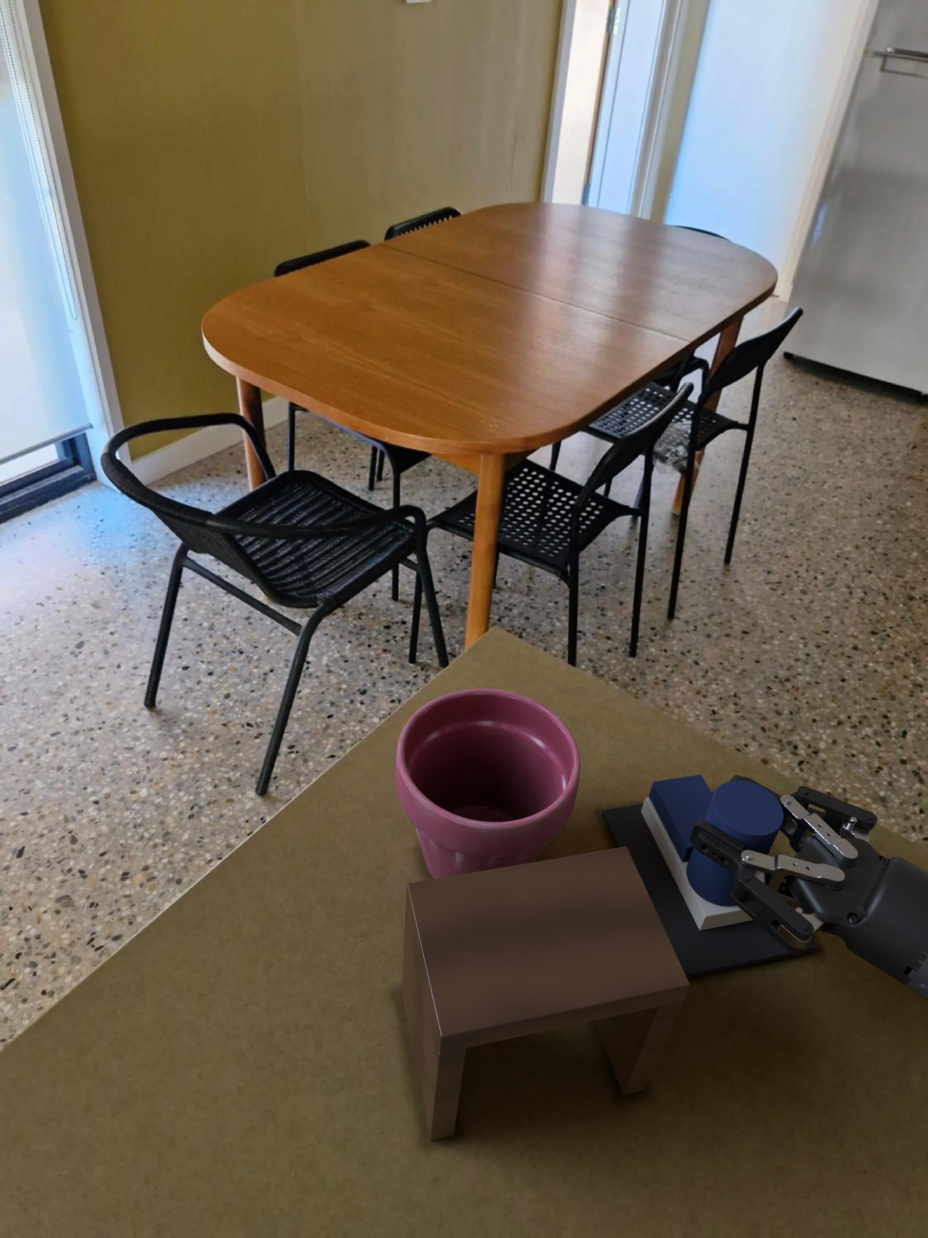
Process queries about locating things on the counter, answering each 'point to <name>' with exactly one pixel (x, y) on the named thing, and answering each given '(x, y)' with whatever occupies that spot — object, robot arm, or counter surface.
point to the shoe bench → (535, 967)
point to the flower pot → (485, 779)
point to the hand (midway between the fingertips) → (712, 807)
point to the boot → (730, 810)
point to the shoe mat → (689, 943)
